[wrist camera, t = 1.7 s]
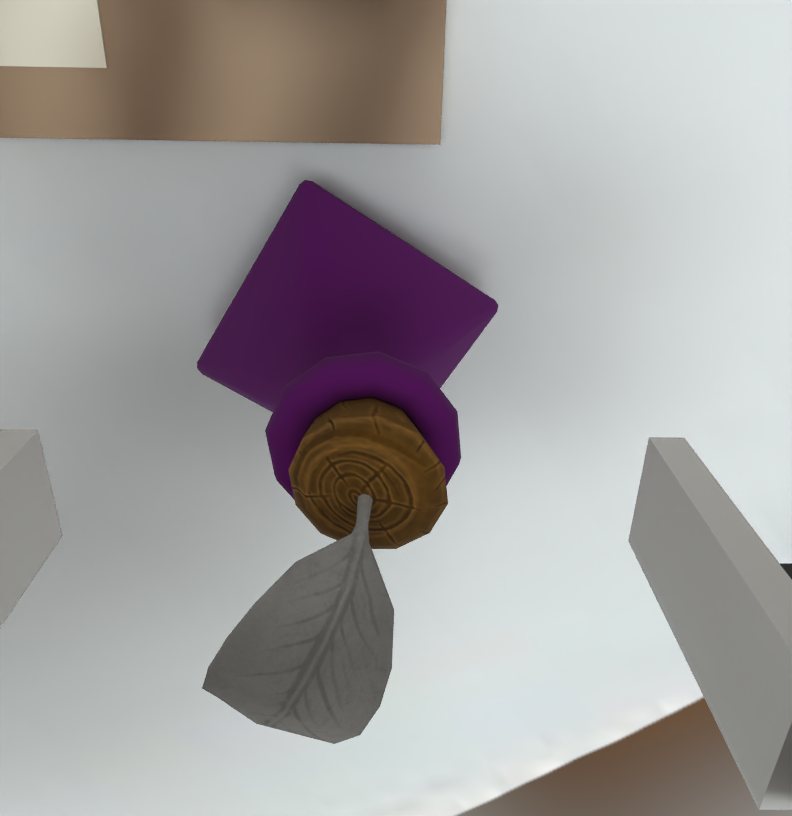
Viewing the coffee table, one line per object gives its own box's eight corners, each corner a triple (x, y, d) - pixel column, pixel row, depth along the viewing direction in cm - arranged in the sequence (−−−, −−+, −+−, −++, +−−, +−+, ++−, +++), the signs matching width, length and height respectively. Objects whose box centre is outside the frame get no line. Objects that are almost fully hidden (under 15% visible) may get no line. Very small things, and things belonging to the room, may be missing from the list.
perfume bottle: (313, 161, 25) (192, 371, 9) (488, 277, 27) (658, 625, 11) (213, 334, 27) (-22, 741, 11) (379, 427, 29) (381, 888, 13)
